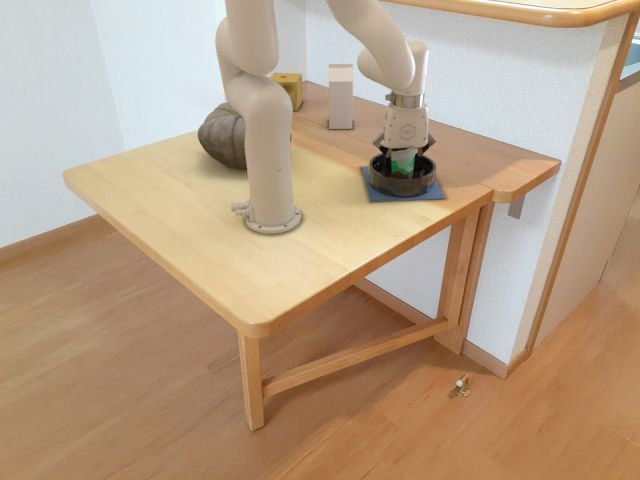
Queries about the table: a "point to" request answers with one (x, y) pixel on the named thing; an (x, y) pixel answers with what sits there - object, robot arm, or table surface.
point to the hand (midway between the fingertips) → (401, 168)
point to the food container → (403, 162)
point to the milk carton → (340, 96)
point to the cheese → (291, 86)
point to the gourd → (224, 136)
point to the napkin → (379, 197)
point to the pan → (401, 187)
